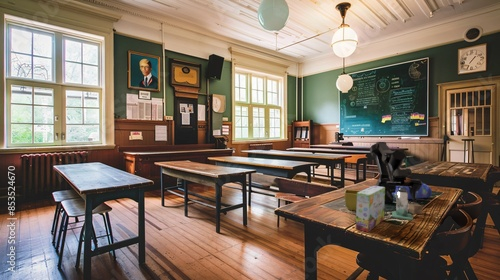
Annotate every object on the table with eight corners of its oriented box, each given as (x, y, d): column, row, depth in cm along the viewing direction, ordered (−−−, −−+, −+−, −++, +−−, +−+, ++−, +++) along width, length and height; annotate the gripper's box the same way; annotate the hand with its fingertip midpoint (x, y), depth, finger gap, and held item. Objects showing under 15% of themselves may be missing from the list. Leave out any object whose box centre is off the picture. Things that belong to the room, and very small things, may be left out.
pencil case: (401, 201, 142) (401, 184, 142) (390, 197, 150) (390, 182, 150) (433, 199, 146) (433, 183, 146) (420, 196, 154) (421, 181, 154)
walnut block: (414, 214, 118) (414, 206, 118) (408, 211, 122) (408, 203, 122) (422, 214, 118) (422, 206, 118) (416, 211, 122) (416, 203, 122)
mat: (392, 217, 113) (392, 216, 113) (392, 212, 120) (392, 211, 120) (412, 220, 109) (412, 219, 109) (411, 215, 116) (411, 214, 116)
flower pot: (363, 208, 128) (363, 191, 128) (363, 212, 120) (363, 194, 120) (345, 206, 131) (345, 189, 131) (344, 210, 123) (344, 192, 123)
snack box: (370, 233, 95) (370, 194, 95) (355, 229, 99) (355, 192, 99) (385, 219, 110) (385, 186, 110) (371, 216, 114) (372, 184, 114)
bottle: (395, 215, 114) (396, 188, 114) (396, 212, 118) (396, 187, 118) (407, 217, 112) (408, 190, 112) (407, 214, 116) (408, 188, 115)
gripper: (378, 162, 121) (385, 189, 110) (421, 163, 116) (432, 191, 106) (373, 175, 128) (379, 201, 118) (413, 176, 124) (423, 204, 114)
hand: (403, 199), depth 114 cm, fingers open, 9 cm apart
